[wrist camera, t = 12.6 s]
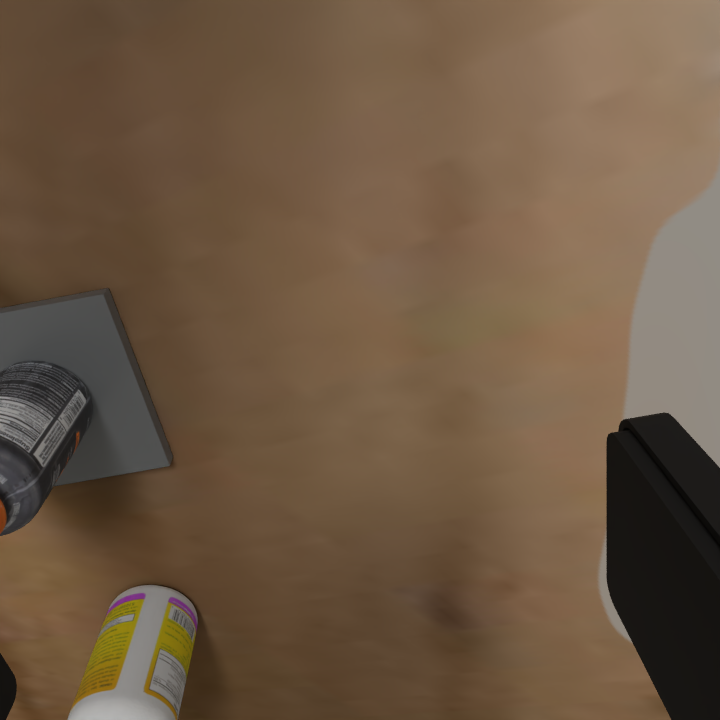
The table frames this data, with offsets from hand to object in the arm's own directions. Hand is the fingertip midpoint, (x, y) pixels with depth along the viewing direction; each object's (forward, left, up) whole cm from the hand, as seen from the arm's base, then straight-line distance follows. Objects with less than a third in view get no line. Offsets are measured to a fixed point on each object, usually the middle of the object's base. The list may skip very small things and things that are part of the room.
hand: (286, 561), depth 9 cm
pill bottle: (+10, -19, -28) cm, 35 cm away
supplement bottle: (+30, -19, -28) cm, 45 cm away
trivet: (+10, -19, -28) cm, 36 cm away
